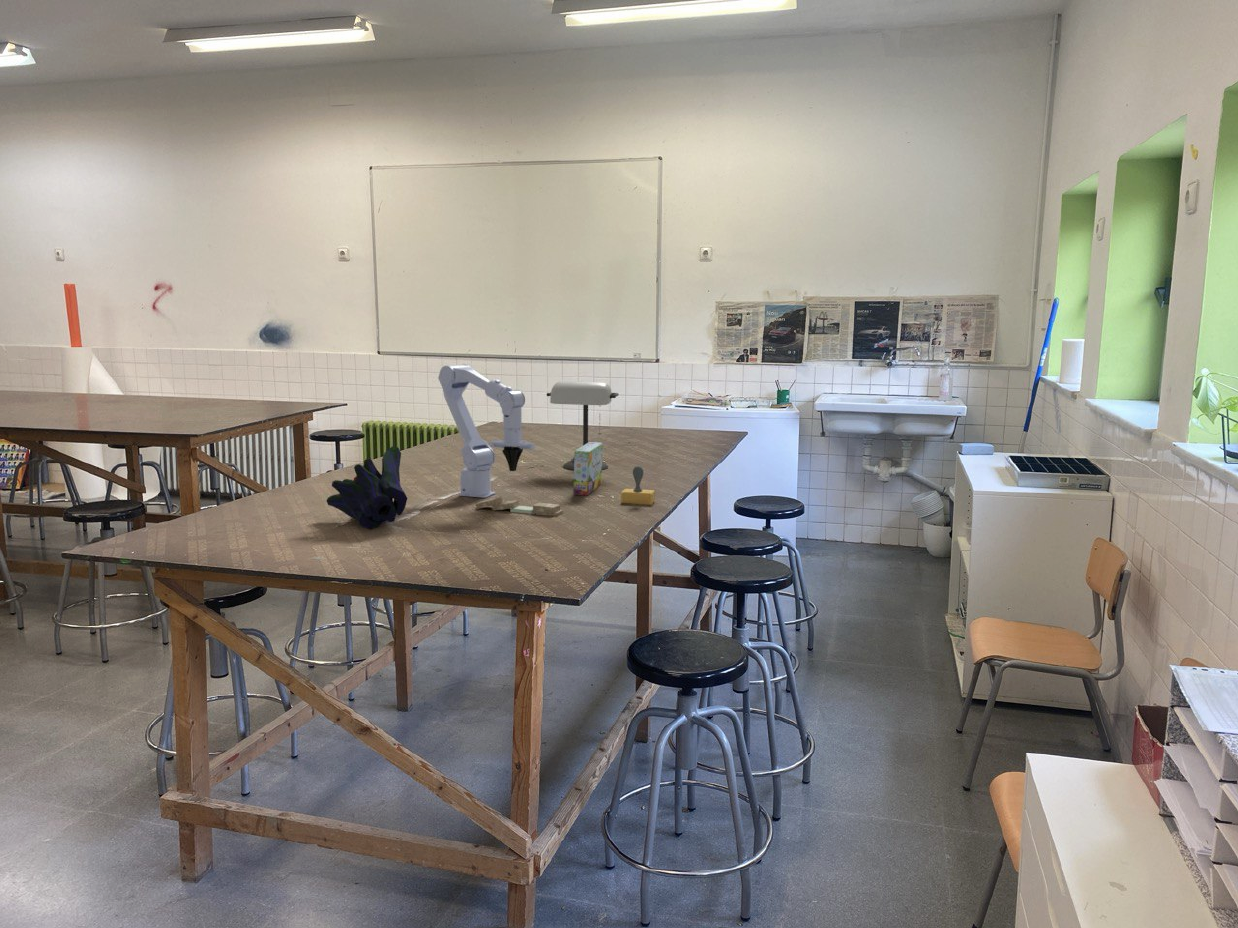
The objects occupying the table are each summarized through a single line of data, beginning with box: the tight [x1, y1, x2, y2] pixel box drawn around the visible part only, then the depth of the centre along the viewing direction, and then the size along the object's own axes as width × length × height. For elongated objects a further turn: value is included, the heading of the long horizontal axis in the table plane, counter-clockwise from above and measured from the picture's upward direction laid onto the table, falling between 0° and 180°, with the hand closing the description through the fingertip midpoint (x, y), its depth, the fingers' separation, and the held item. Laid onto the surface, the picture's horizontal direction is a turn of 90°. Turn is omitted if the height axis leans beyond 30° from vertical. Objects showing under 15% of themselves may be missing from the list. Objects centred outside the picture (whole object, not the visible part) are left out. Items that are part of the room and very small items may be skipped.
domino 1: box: [475, 496, 504, 510], centre depth 277 cm, size 2×4×7 cm
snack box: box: [572, 441, 604, 496], centre depth 306 cm, size 21×6×15 cm, turn 169°
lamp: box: [546, 381, 620, 471], centre depth 343 cm, size 26×24×34 cm
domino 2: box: [491, 499, 520, 511], centre depth 276 cm, size 2×4×7 cm
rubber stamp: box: [620, 465, 655, 506], centre depth 288 cm, size 10×6×12 cm, turn 78°
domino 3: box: [509, 505, 536, 515], centre depth 274 cm, size 2×4×7 cm
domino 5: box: [535, 509, 564, 517], centre depth 272 cm, size 2×4×7 cm
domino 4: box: [532, 502, 561, 513], centre depth 272 cm, size 2×4×7 cm
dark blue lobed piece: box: [325, 445, 408, 530], centre depth 261 cm, size 21×26×30 cm
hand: (512, 470), depth 286 cm, fingers closed
